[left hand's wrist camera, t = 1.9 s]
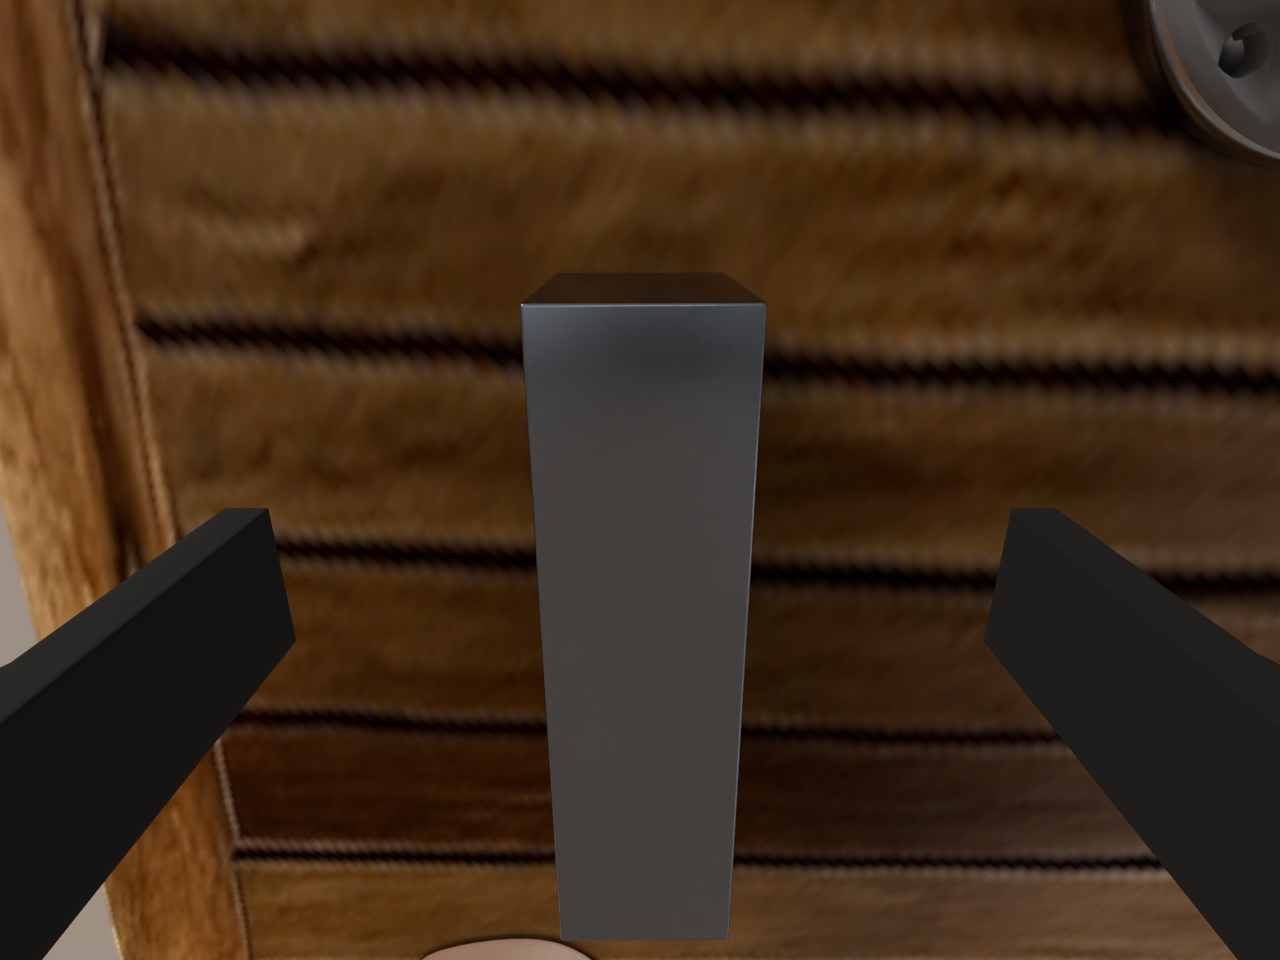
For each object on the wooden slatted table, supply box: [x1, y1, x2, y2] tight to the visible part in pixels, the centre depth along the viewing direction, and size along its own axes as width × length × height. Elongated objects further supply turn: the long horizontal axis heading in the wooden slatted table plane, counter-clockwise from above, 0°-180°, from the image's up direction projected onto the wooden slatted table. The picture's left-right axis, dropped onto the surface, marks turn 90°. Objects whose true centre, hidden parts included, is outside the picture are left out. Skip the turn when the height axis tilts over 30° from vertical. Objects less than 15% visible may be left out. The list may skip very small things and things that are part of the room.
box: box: [520, 273, 767, 941], centre depth 25 cm, size 22×6×8 cm, turn 0°
